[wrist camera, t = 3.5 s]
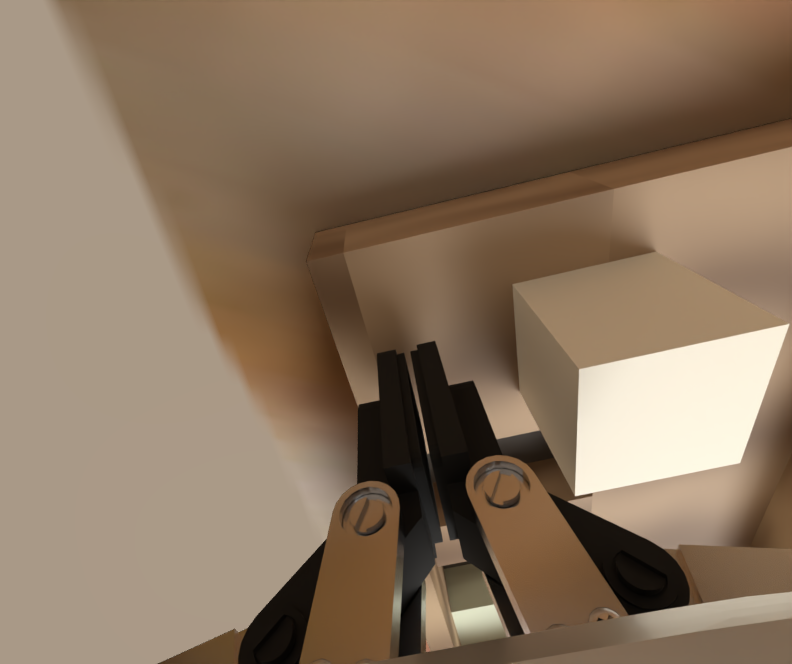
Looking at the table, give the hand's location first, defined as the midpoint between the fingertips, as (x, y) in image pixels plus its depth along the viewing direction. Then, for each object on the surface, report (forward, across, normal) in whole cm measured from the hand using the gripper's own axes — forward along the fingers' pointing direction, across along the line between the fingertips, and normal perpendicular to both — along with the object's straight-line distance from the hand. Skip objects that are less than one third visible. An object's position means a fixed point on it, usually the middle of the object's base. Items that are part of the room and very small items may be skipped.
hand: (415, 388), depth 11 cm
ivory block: (+1, -5, 0) cm, 5 cm away
